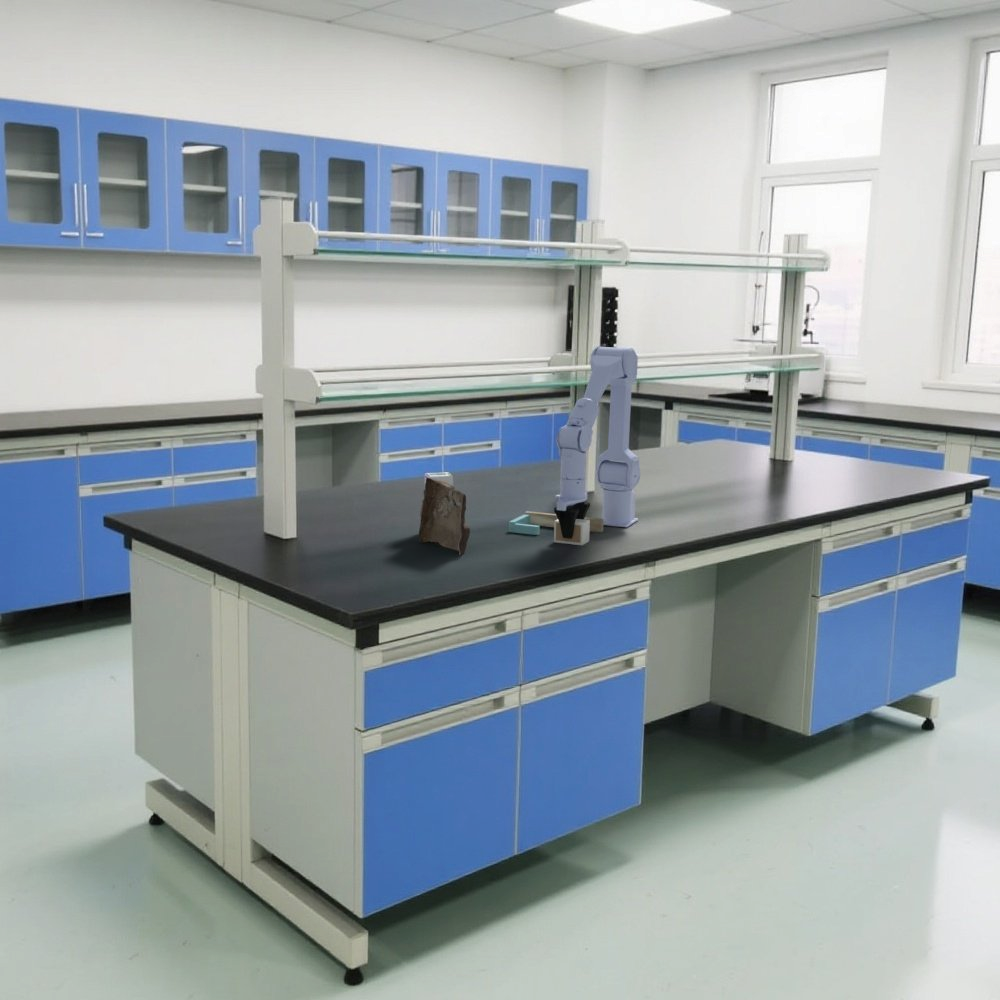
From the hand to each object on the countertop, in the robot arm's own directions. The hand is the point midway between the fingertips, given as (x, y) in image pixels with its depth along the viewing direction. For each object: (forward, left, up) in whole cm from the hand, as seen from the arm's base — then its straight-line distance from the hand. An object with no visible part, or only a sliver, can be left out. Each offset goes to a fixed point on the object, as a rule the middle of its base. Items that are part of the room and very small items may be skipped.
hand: (571, 535), depth 256 cm
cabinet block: (0, 0, -1) cm, 1 cm away
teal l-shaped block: (-7, -13, -1) cm, 15 cm away
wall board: (-12, -7, -1) cm, 14 cm away
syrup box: (+7, -31, -2) cm, 32 cm away
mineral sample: (+19, -23, -2) cm, 30 cm away
